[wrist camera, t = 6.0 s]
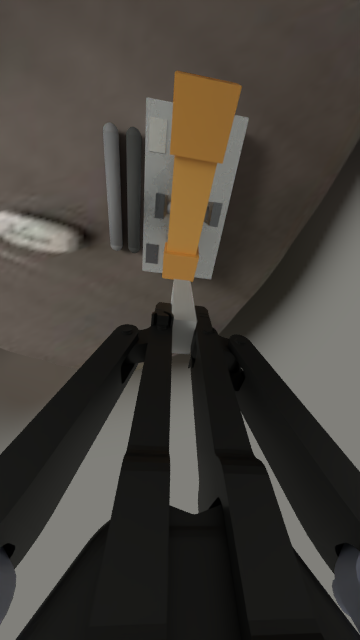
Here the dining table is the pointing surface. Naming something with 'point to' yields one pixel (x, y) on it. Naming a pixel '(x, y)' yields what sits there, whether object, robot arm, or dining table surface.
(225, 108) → the lever
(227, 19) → the dining table surface
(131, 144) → the cord
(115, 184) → the grey rod
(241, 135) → the grey bracketed base
